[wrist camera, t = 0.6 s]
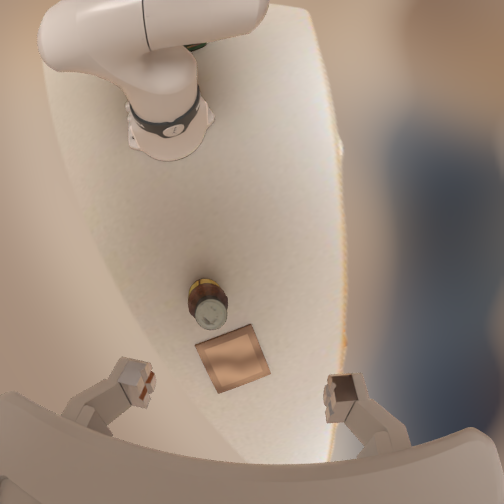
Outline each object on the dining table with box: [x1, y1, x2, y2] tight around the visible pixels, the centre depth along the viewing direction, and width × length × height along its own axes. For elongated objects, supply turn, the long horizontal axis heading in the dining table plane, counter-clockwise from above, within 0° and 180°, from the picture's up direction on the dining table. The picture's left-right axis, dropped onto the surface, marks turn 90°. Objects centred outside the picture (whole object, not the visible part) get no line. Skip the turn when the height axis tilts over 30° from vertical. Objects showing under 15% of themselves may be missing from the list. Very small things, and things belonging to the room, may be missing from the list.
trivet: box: [195, 324, 271, 394], centre depth 52 cm, size 12×12×1 cm
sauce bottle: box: [188, 279, 228, 330], centre depth 42 cm, size 7×6×20 cm
